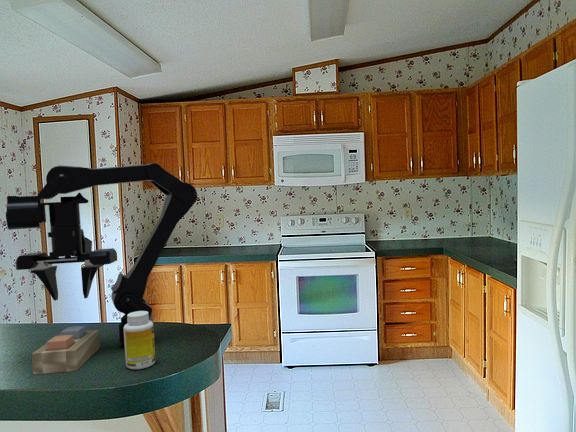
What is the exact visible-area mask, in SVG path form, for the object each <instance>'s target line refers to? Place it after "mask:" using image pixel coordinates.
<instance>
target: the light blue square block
mask: <svg viewBox="0 0 576 432" xmlns="http://www.w3.org/2000/svg"><path fill="white" fill-rule="evenodd" d="M86 331H87V329H86V325H76V326H75V325H73V326H67V327H66V328H65V329H63V330H61V332H60V333H61V336H64V335H74V339H81V338H82V337H83V336H84V335H86Z"/></svg>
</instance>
